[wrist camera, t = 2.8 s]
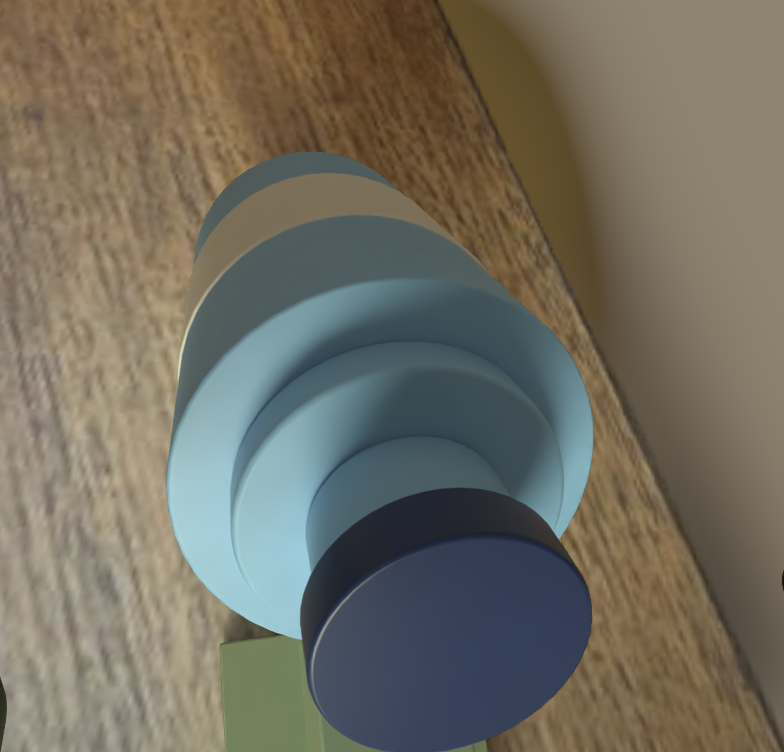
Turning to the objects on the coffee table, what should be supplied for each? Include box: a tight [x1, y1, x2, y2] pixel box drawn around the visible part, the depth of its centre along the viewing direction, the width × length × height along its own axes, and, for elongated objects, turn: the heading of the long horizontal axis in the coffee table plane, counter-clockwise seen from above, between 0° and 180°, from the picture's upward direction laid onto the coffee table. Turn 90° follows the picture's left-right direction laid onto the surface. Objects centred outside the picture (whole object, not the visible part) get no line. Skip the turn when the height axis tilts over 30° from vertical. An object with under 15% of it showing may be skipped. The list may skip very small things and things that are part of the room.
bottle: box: [166, 152, 594, 752], centre depth 13 cm, size 12×6×12 cm, turn 8°
